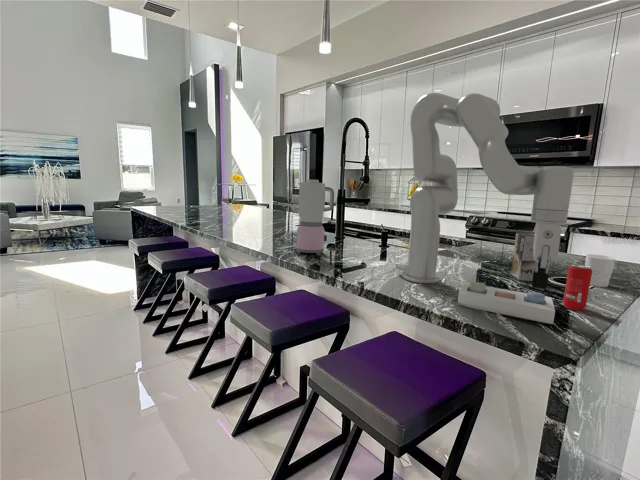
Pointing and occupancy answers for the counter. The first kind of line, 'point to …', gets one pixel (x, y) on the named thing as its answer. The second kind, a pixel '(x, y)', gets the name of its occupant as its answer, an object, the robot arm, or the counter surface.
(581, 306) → the beverage can
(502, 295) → the button terracotta
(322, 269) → the counter surface
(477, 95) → the robot arm
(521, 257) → the coffee box
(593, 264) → the white cup
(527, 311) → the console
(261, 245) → the counter surface
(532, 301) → the button slate
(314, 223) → the blender
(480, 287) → the button sage
